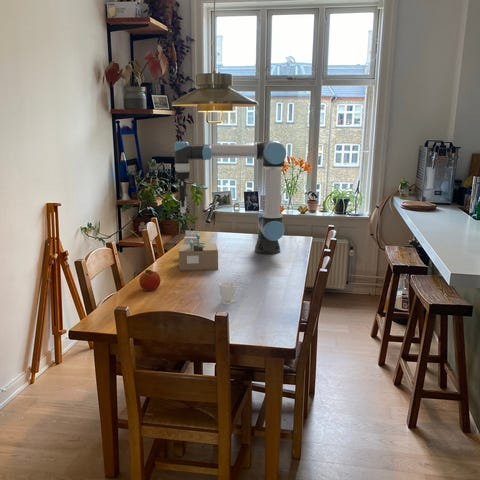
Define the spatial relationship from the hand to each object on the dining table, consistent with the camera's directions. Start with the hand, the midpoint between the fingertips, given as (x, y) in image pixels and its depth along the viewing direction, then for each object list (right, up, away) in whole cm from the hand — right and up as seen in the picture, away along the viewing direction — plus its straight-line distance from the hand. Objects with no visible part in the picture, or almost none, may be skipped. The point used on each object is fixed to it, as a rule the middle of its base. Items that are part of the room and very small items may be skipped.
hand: (183, 210), depth 253 cm
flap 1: (+3, -21, -9) cm, 23 cm away
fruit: (-10, -39, -40) cm, 57 cm away
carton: (+9, -30, -6) cm, 32 cm away
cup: (+27, -42, -55) cm, 75 cm away
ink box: (+3, -26, +14) cm, 29 cm away
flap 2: (+13, -20, -7) cm, 25 cm away
